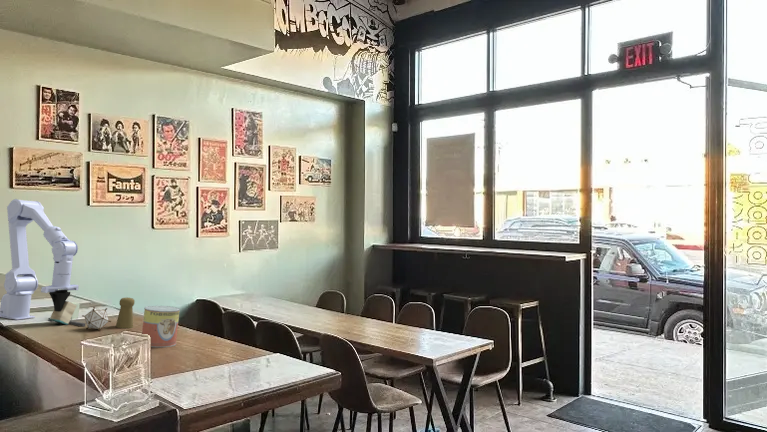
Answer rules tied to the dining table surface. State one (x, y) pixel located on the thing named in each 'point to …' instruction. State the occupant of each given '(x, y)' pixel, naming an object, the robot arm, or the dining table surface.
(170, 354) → the dining table surface
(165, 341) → the canned food
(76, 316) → the sage block
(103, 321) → the game die
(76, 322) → the rubber trip strip
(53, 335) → the dining table surface
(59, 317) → the birch block
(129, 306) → the cork
